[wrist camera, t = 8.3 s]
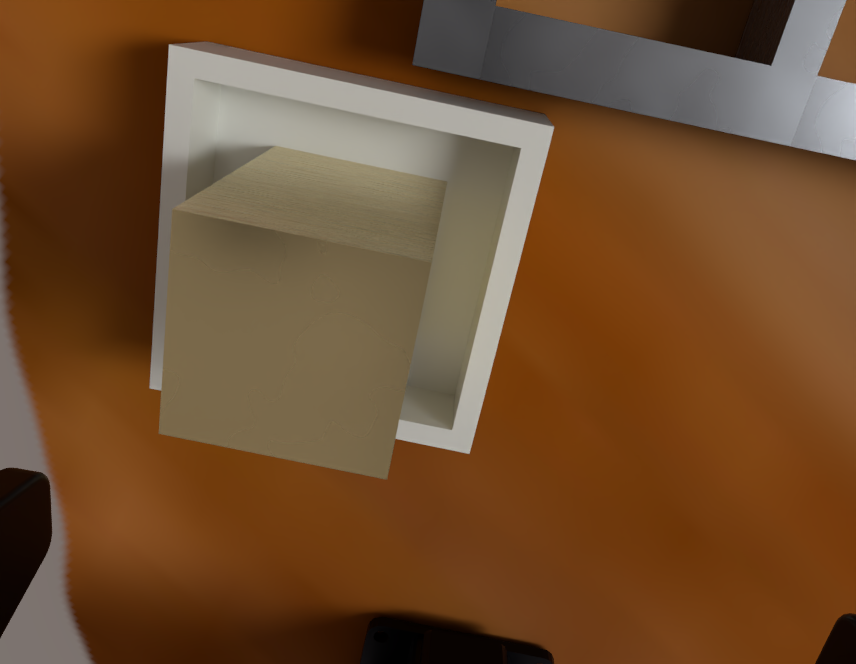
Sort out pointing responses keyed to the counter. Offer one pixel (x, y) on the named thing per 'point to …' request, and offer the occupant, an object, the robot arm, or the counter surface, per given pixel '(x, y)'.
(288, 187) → the block
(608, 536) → the counter surface
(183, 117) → the parts tray
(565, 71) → the grey rectangular frame
